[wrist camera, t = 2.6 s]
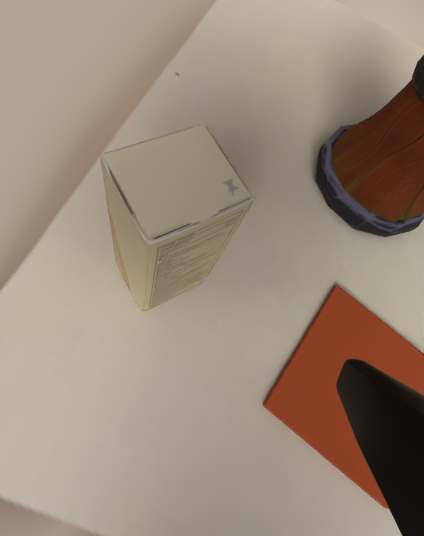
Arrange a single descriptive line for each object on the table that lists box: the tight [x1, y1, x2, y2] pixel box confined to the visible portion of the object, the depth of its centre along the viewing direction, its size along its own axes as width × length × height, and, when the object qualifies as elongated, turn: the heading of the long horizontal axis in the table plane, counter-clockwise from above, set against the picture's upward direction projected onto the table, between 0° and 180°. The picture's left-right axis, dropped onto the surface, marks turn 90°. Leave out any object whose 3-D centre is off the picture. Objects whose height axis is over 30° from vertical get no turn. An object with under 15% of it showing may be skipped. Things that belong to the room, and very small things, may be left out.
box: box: [101, 125, 254, 311], centre depth 18 cm, size 5×4×11 cm
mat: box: [263, 285, 424, 509], centre depth 23 cm, size 11×10×1 cm
